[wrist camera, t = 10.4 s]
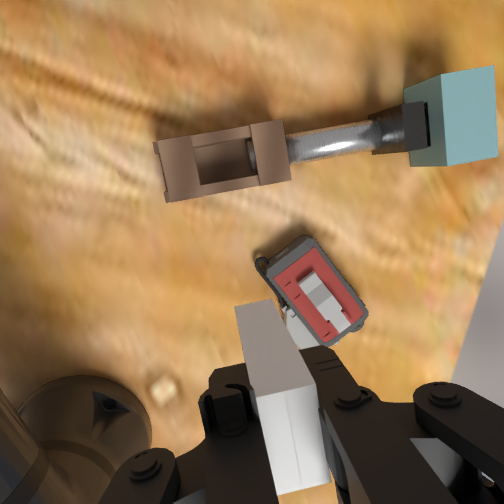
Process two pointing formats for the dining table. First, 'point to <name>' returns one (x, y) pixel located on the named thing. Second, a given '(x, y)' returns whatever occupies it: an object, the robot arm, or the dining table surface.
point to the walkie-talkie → (312, 294)
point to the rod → (360, 136)
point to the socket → (457, 117)
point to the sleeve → (223, 160)
